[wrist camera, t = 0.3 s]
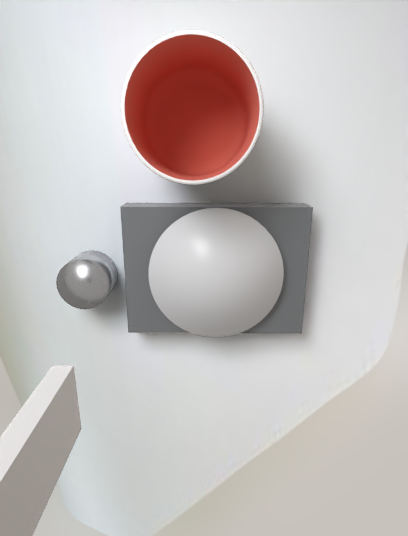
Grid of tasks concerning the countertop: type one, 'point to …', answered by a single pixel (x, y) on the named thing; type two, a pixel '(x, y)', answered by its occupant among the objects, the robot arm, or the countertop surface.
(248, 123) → the cup
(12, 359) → the countertop surface
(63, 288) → the cylinder
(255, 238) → the scale
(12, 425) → the robot arm
